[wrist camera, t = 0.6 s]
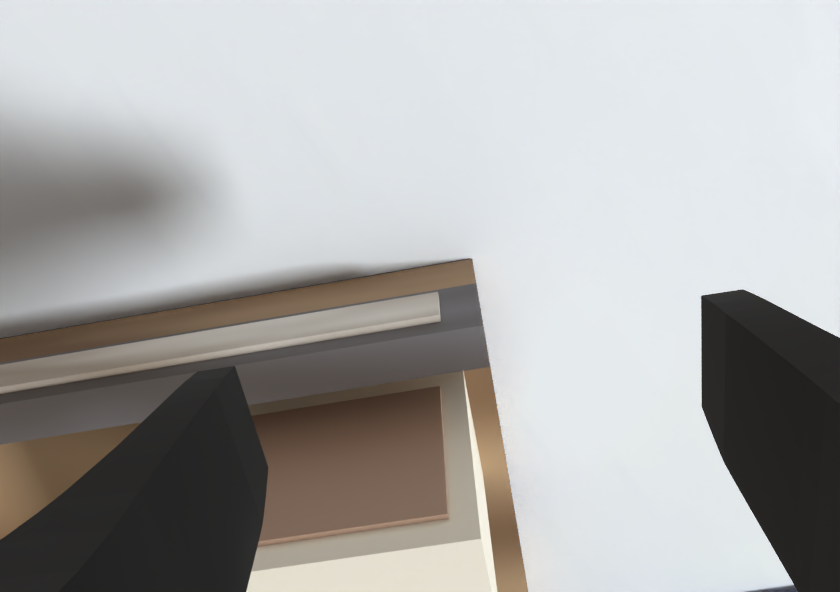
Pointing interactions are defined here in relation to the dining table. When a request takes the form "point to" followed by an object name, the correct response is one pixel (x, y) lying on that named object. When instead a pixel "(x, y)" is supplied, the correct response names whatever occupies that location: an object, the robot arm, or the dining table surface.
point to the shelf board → (246, 376)
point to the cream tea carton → (373, 492)
